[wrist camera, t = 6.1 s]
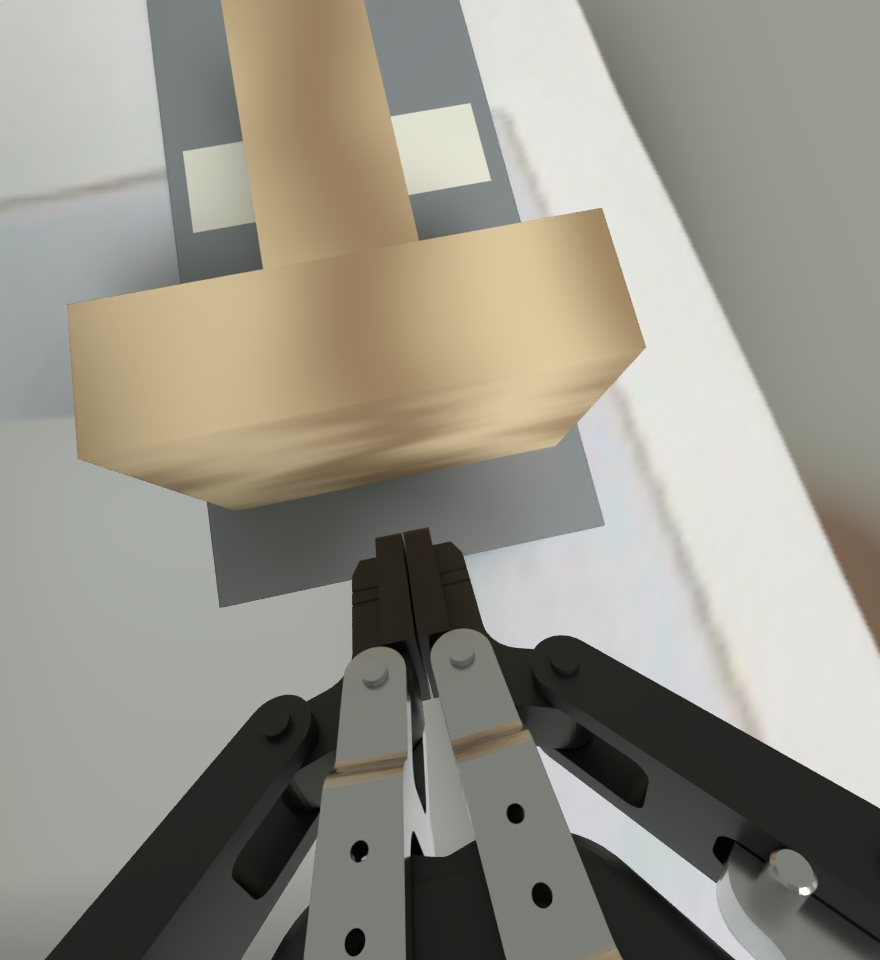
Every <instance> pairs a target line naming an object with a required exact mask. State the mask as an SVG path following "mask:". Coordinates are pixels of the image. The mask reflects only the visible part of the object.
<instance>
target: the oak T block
mask: <svg viewBox="0 0 880 960" xmlns="http://www.w3.org/2000/svg"><path fill="white" fill-rule="evenodd" d="M221 5H222V11H223V17H224V24H225V30H226V36H227V43H228V49H229V55H230V62H231V68H232V74H233V81H234V87H235V93H236V100H237V106H238V112H239V119H240V125H241V131H242V138H243V144H244V150H245V157H246V163H247V169H248V176H249V182H250V188H251V195H252V201H253V207H254V214H255V220H256V226H257V233H258V239H259V245H260V252H261V258H262V264H263V269H261V270H256V271H250V272H245V273H239V274H234V275H228V276H223V277H217V278H212V279H206V280H201V281H195V282H190V283H184V284H179V285H173V286H168V287H162V288H156V289H151V290H145V291H140V292H134V293H129V294H123V295H118V296H112V297H107V298H101V299H96V300H90V301H85V302H79V303H74V304H68V305H67V309H68V323H69V337H70V352H71V366H72V380H73V395H74V409H75V423H76V437H77V452H78V459H80V460H83V461H86V462H89V463H92V464H95V465H98V466H101V467H104V468H107V469H110V470H113V471H116V472H119V473H122V474H125V475H128V476H131V477H134V478H138V479H140V480H143V481H146V482H149V483H152V484H155V485H159V486H162V487H164V488H167V489H170V490H174V491H177V492H179V493H183V494H185V495H189V496H191V497H194V498H197V499H201V500H204V501H207V502H210V503H213V504H216V505H219V506H222V507H225V508H228V509H231V510H234V511H241V510H246V509H250V508H255V507H260V506H265V505H270V504H275V503H280V502H285V501H289V500H294V499H299V498H304V497H309V496H314V495H319V494H324V493H328V492H333V491H338V490H343V489H348V488H353V487H358V486H363V485H367V484H372V483H377V482H382V481H387V480H392V479H397V478H402V477H407V476H411V475H416V474H421V473H426V472H431V471H436V470H441V469H446V468H450V467H455V466H460V465H465V464H470V463H475V462H480V461H485V460H489V459H494V458H499V457H504V456H509V455H514V454H519V453H524V452H528V451H533V450H538V449H543V448H548V447H553V446H556V445H557V444H558V443H559V442H560V441H561V440H562V439H563V438H564V436H565V435H566V434H567V433H568V432H569V431H570V430H571V429H572V428H573V427H574V425H575V424H576V423H577V422H578V421H579V420H580V419H581V418H582V417H583V416H584V415H585V413H586V412H587V411H588V410H589V409H590V408H591V407H592V406H593V405H594V404H595V402H596V401H597V400H598V399H599V398H600V397H601V396H602V395H603V394H604V393H605V392H606V390H607V389H608V388H609V387H610V386H611V385H612V384H613V383H614V382H615V381H616V380H617V378H618V377H619V376H620V375H621V374H622V373H623V372H624V371H625V370H626V369H627V367H628V366H629V365H630V364H631V363H632V362H633V361H634V360H635V359H636V358H637V357H638V355H639V354H640V353H641V352H642V351H643V350H644V349H645V348H646V346H645V343H644V339H643V336H642V333H641V330H640V327H639V324H638V320H637V317H636V314H635V311H634V308H633V305H632V301H631V298H630V295H629V292H628V289H627V286H626V283H625V279H624V276H623V273H622V270H621V267H620V264H619V260H618V257H617V254H616V251H615V248H614V245H613V241H612V238H611V235H610V232H609V229H608V226H607V222H606V219H605V216H604V213H603V210H602V208H598V209H593V210H587V211H582V212H576V213H571V214H565V215H560V216H554V217H548V218H543V219H537V220H532V221H526V222H521V223H515V224H510V225H504V226H499V227H493V228H488V229H482V230H477V231H471V232H466V233H460V234H455V235H449V236H444V237H438V238H433V239H427V240H421V241H419V238H418V234H417V230H416V225H415V221H414V217H413V212H412V208H411V204H410V199H409V195H408V190H407V186H406V182H405V177H404V173H403V169H402V164H401V160H400V156H399V151H398V147H397V143H396V138H395V134H394V130H393V125H392V121H391V116H390V112H389V108H388V103H387V99H386V95H385V90H384V86H383V82H382V77H381V73H380V69H379V64H378V60H377V56H376V51H375V47H374V42H373V38H372V34H371V29H370V25H369V21H368V16H367V12H366V8H365V3H364V0H221Z"/></svg>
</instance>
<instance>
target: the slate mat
mask: <svg viewBox="0 0 880 960" xmlns="http://www.w3.org/2000/svg"><path fill="white" fill-rule="evenodd" d="M364 3H365V8H366V12H367V16H368V21H369V25H370V29H371V34H372V38H373V42H374V47H375V51H376V56H377V60H378V64H379V69H380V73H381V77H382V82H383V86H384V90H385V95H386V99H387V103H388V108H389V112H390V116H391V121H392V125H393V130H394V134H395V138H396V143H397V147H398V151H399V156H400V160H401V164H402V169H403V173H404V177H405V182H406V186H407V190H408V195H409V199H410V204H411V208H412V212H413V217H414V221H415V225H416V230H417V234H418V238H419V241H421V240H427V239H433V238H438V237H444V236H449V235H455V234H460V233H466V232H471V231H477V230H482V229H488V228H493V227H499V226H504V225H510V224H515V223H521V221H520V217H519V214H518V210H517V206H516V203H515V199H514V196H513V192H512V188H511V185H510V181H509V178H508V174H507V170H506V167H505V163H504V160H503V156H502V152H501V149H500V145H499V142H498V138H497V134H496V131H495V127H494V124H493V120H492V116H491V113H490V109H489V106H488V102H487V98H486V95H485V91H484V88H483V84H482V80H481V77H480V73H479V70H478V66H477V62H476V59H475V55H474V52H473V48H472V44H471V41H470V37H469V34H468V30H467V26H466V23H465V19H464V16H463V12H462V8H461V5H460V1H459V0H364ZM147 8H148V17H149V25H150V33H151V42H152V50H153V58H154V67H155V75H156V83H157V91H158V100H159V108H160V116H161V125H162V133H163V141H164V150H165V158H166V166H167V174H168V183H169V191H170V199H171V208H172V216H173V224H174V233H175V241H176V249H177V257H178V266H179V274H180V282H181V284H184V283H190V282H195V281H201V280H206V279H212V278H217V277H223V276H228V275H234V274H239V273H245V272H250V271H256V270H261V269H263V264H262V258H261V252H260V245H259V239H258V233H257V226H256V220H255V214H254V207H253V201H252V195H251V188H250V182H249V176H248V169H247V163H246V157H245V150H244V144H243V138H242V131H241V125H240V119H239V112H238V106H237V100H236V93H235V87H234V81H233V74H232V68H231V62H230V55H229V49H228V43H227V36H226V30H225V24H224V17H223V11H222V5H221V0H147ZM207 506H208V515H209V522H210V531H211V540H212V548H213V556H214V565H215V573H216V580H217V590H218V598H219V606H220V607H227V606H231V605H236V604H241V603H245V602H250V601H254V600H259V599H264V598H269V597H273V596H278V595H282V594H287V593H292V592H296V591H301V590H306V589H310V588H315V587H320V586H325V585H329V584H334V583H339V582H343V581H348V580H352V575H353V573H354V571H355V569H356V567H357V565H358V563H359V561H360V560H365V559H370V558H374V557H376V547H375V538H378V537H383V536H388V535H392V534H397V533H401V534H402V537H403V541H404V535H403V532H406V531H411V530H416V529H421V528H425V527H429V531H430V536H431V540H432V545H435V544H440V543H445V542H450V541H451V542H452V543H453V544H454V545H455V546H456V547H457V548H458V549H459V550H460V551H461V552H462V553H463V556H465V555H469V554H474V553H479V552H483V551H488V550H493V549H497V548H502V547H507V546H511V545H516V544H521V543H525V542H530V541H535V540H539V539H544V538H549V537H553V536H558V535H563V534H567V533H572V532H577V531H581V530H586V529H591V528H595V527H600V526H604V525H605V523H604V520H603V516H602V513H601V509H600V505H599V502H598V498H597V495H596V491H595V487H594V484H593V480H592V476H591V473H590V469H589V466H588V462H587V458H586V455H585V451H584V448H583V444H582V440H581V437H580V433H579V430H578V426H577V423H576V424H575V425H574V427H573V428H572V429H571V430H570V431H569V432H568V433H567V434H566V435H565V436H564V438H563V439H562V440H561V441H560V442H559V443H558V444H557V445H556V446H553V447H548V448H543V449H538V450H533V451H528V452H524V453H519V454H514V455H509V456H504V457H499V458H494V459H489V460H485V461H480V462H475V463H470V464H465V465H460V466H455V467H450V468H446V469H441V470H436V471H431V472H426V473H421V474H416V475H411V476H407V477H402V478H397V479H392V480H387V481H382V482H377V483H372V484H367V485H363V486H358V487H353V488H348V489H343V490H338V491H333V492H328V493H324V494H319V495H314V496H309V497H304V498H299V499H294V500H289V501H285V502H280V503H275V504H270V505H265V506H260V507H255V508H250V509H246V510H241V511H234V510H231V509H228V508H225V507H222V506H219V505H216V504H213V503H210V502H207ZM404 545H405V542H404Z"/></svg>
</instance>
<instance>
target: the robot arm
mask: <svg viewBox="0 0 880 960" xmlns="http://www.w3.org/2000/svg"><path fill="white" fill-rule="evenodd" d="M403 535H404V541H403V537H402V534H401V533H397V534H392V535H388V536H383V537H378V538H375V547H376V557H374V558H370V559H365V560H360V561H359V563H358V565H357V567H356V569H355V571H354V573H353V575H352V592H353V594H352V605H353V607H352V630H353V631H352V640H353V642H352V644H353V646H352V648H353V654H352V661H351V662H350V663H349V665H348V666H347V668H346V671H345V674H344V676H343V678H342V679H341V680H340V681H339V682H338V683H337V684H335V685H334V686H333V687H332V688H330V689H328V690H327V691H325V692H323V693H322V694H320V695H318V696H316V697H314V698H312V699H310V700H309V701H307V702H306V701H305V700H303V699H302V698H301V697H298V696H295V695H283V696H279V697H276V698H274V699H271V700H269V701H268V702H266V703H265V704H263V705H262V706H261V707H260V708H258V709H257V711H256V712H255V713H254V714H253V715H252V716H251V717H250V718H249V720H248V721H247V722H246V723H245V724H244V726H243V727H242V728H241V729H240V730H239V731H238V733H237V734H236V735H235V736H234V737H233V739H232V740H231V741H230V742H229V743H228V744H227V746H226V747H225V748H224V749H223V750H222V752H221V753H220V754H219V755H218V756H217V758H216V759H215V760H214V761H213V762H212V763H211V764H210V766H209V767H208V768H207V769H206V771H205V772H204V773H203V774H202V775H201V776H200V777H199V779H198V780H197V781H196V782H195V783H194V785H193V786H192V787H191V788H190V789H189V790H188V792H187V793H186V794H185V795H184V796H183V798H182V799H181V800H180V801H179V802H178V803H177V805H176V806H175V807H174V808H173V809H172V811H171V812H170V813H169V814H168V815H167V816H166V818H165V819H164V820H163V821H162V822H161V823H160V825H159V826H158V827H157V828H156V829H155V831H154V832H153V833H152V834H151V835H150V836H149V838H148V839H147V840H146V841H145V842H144V843H143V845H142V846H141V847H140V848H139V849H138V850H137V852H136V853H135V854H134V855H133V856H132V858H131V859H130V860H129V861H128V862H127V863H126V865H125V866H124V867H123V868H122V869H121V871H120V872H119V873H118V874H117V875H116V876H115V878H114V879H113V880H112V881H111V882H110V883H109V885H108V886H107V887H106V888H105V889H104V891H103V892H102V893H101V894H100V895H99V897H98V898H97V899H96V900H95V901H94V902H93V904H92V905H91V906H90V907H89V908H88V909H87V911H86V912H85V913H84V914H83V915H82V917H81V918H80V919H79V920H78V921H77V922H76V924H75V925H74V926H73V927H72V928H71V929H70V931H69V932H68V933H67V934H66V935H65V937H64V938H63V939H62V940H61V941H60V943H59V944H58V945H57V946H56V947H55V948H54V950H53V951H52V952H51V953H50V954H49V956H48V957H47V958H46V959H45V960H241V958H242V957H243V955H244V953H245V952H246V950H247V949H248V947H249V945H250V944H251V942H252V941H253V939H254V937H255V936H256V934H257V933H258V931H259V929H260V928H261V926H262V924H263V923H264V921H265V920H266V918H267V917H268V915H269V913H270V912H271V910H272V909H273V907H274V905H275V904H276V902H277V901H278V899H279V897H280V896H281V894H282V892H283V891H284V889H285V888H286V886H287V885H288V883H289V881H290V880H291V878H292V876H293V875H294V873H295V872H296V870H297V869H298V867H299V865H300V864H301V862H302V860H303V859H304V857H305V856H306V854H307V853H308V851H309V849H310V848H311V846H312V845H313V843H314V841H315V840H316V838H317V845H316V853H315V861H314V870H313V879H312V888H311V897H310V905H309V906H308V907H307V908H306V909H305V910H304V912H303V913H302V914H301V915H300V916H299V918H298V919H297V920H296V921H295V922H294V924H293V925H292V927H291V928H290V929H289V931H288V932H287V934H286V935H285V937H284V938H283V940H282V942H281V943H280V945H279V947H278V949H277V950H276V952H275V954H274V956H273V958H272V959H271V960H735V959H734V958H733V957H732V956H730V955H729V954H728V953H727V952H726V951H725V950H724V949H722V948H721V947H720V946H719V945H718V944H717V943H716V942H714V941H713V940H712V939H711V938H710V937H709V936H708V935H706V934H705V933H704V932H703V931H702V930H701V929H700V928H698V927H697V926H696V925H695V924H694V923H693V922H692V921H690V920H689V919H688V918H687V917H686V916H685V915H684V914H682V913H681V912H680V911H679V910H678V909H677V908H676V907H674V906H673V905H672V904H671V903H670V902H669V901H668V900H666V899H665V898H664V897H663V896H662V895H661V894H660V893H659V892H657V891H656V890H655V889H654V888H653V887H652V886H651V885H649V884H648V883H647V882H646V881H645V880H644V879H643V878H641V877H640V876H639V875H638V874H637V873H636V872H635V871H633V870H632V869H631V868H630V867H629V866H628V865H627V864H625V863H624V862H623V861H622V860H621V859H619V858H618V857H617V856H616V855H614V854H613V853H611V852H610V851H609V850H607V849H606V848H604V847H603V846H601V845H599V844H597V843H595V842H593V841H591V840H589V839H587V838H584V837H582V836H579V835H576V834H572V833H570V830H569V828H568V825H567V823H566V820H565V818H564V815H563V813H562V810H561V808H560V805H559V803H558V800H557V798H556V795H555V793H554V790H553V788H552V785H551V783H550V780H549V778H548V775H547V773H546V770H545V768H544V765H543V763H542V760H541V758H540V755H539V753H538V750H537V747H536V746H540V748H541V749H542V750H543V751H544V752H545V753H546V754H547V755H548V756H549V757H551V758H552V759H553V760H555V761H556V762H557V763H559V764H560V765H561V766H563V767H564V768H565V769H567V770H568V771H569V772H571V773H572V774H573V775H574V776H576V777H577V778H578V779H580V780H581V781H582V782H584V783H585V784H586V785H588V786H589V787H590V788H592V789H593V790H594V791H596V792H597V793H598V794H599V795H601V796H602V797H603V798H605V799H606V800H607V801H609V802H610V803H611V804H613V805H614V806H615V807H617V808H618V809H619V810H621V811H622V812H623V813H625V814H626V815H627V816H628V817H630V818H631V819H632V820H634V821H635V822H636V823H638V824H639V825H640V826H642V827H643V828H644V829H646V830H647V831H648V832H650V833H651V834H652V835H653V836H655V837H656V838H657V839H659V840H660V841H661V842H663V843H664V844H665V845H667V846H668V847H669V848H671V849H672V850H673V851H675V852H676V853H677V854H679V855H680V856H681V857H682V858H684V859H685V860H686V861H688V862H689V863H690V864H692V865H693V866H694V867H696V868H697V869H698V870H700V871H701V872H702V873H704V874H705V875H706V876H708V877H709V878H710V879H711V880H713V881H714V882H715V883H717V889H716V893H717V901H718V906H719V909H720V912H721V915H722V917H723V919H724V921H725V923H726V925H727V927H728V929H729V930H730V932H731V933H732V935H733V936H734V937H735V938H736V940H737V941H738V942H739V943H740V944H741V945H742V946H743V947H744V948H745V949H746V950H747V951H748V952H749V953H750V954H751V955H752V956H753V957H754V958H755V959H756V960H880V808H878V807H876V806H875V805H873V804H871V803H869V802H868V801H866V800H864V799H862V798H860V797H859V796H857V795H855V794H853V793H852V792H850V791H848V790H846V789H844V788H843V787H841V786H839V785H837V784H836V783H834V782H832V781H830V780H828V779H827V778H825V777H823V776H821V775H820V774H818V773H816V772H814V771H812V770H811V769H809V768H807V767H805V766H803V765H802V764H800V763H798V762H796V761H795V760H793V759H791V758H789V757H787V756H786V755H784V754H782V753H780V752H779V751H777V750H775V749H773V748H771V747H770V746H768V745H766V744H764V743H763V742H761V741H759V740H757V739H755V738H754V737H752V736H750V735H748V734H747V733H745V732H743V731H741V730H739V729H738V728H736V727H734V726H732V725H731V724H729V723H727V722H725V721H723V720H722V719H720V718H718V717H716V716H715V715H713V714H711V713H709V712H707V711H706V710H704V709H702V708H700V707H699V706H697V705H695V704H693V703H691V702H690V701H688V700H686V699H684V698H682V697H681V696H679V695H677V694H675V693H674V692H672V691H670V690H668V689H666V688H665V687H663V686H661V685H659V684H658V683H656V682H654V681H652V680H650V679H649V678H647V677H645V676H643V675H642V674H640V673H638V672H636V671H634V670H633V669H631V668H629V667H627V666H626V665H624V664H622V663H620V662H618V661H617V660H615V659H613V658H611V657H610V656H608V655H606V654H604V653H602V652H601V651H599V650H597V649H595V648H594V647H592V646H590V645H588V644H586V643H585V642H583V641H581V640H579V639H577V638H574V637H571V636H562V635H559V636H552V637H549V638H547V639H544V640H543V641H541V642H540V643H539V644H538V645H537V646H536V647H535V649H523V648H513V647H508V646H505V645H503V644H500V643H498V642H497V641H495V640H494V639H493V638H491V637H490V636H489V634H488V633H487V632H486V630H485V629H484V626H483V623H482V620H481V616H480V613H479V609H478V606H477V602H476V599H475V595H474V592H473V588H472V585H471V582H470V578H469V574H468V571H467V568H466V564H465V560H464V557H463V553H462V552H461V551H460V550H459V549H458V548H457V547H456V546H455V545H454V544H453V543H452V542H451V541H450V542H445V543H440V544H435V545H432V540H431V536H430V531H429V527H425V528H421V529H416V530H411V531H406V532H403ZM404 542H405V545H404ZM427 674H428V675H427ZM428 678H429V681H430V685H431V689H432V693H433V697H434V698H437V697H440V701H441V705H442V709H443V714H444V717H445V722H446V726H447V730H448V734H449V738H450V741H451V746H452V750H453V754H454V757H455V762H456V766H457V770H458V774H459V778H460V781H461V786H462V789H463V793H464V798H465V801H466V805H467V809H468V814H469V817H470V821H471V825H472V830H473V834H474V838H475V841H473V842H471V843H469V844H468V845H466V846H464V847H463V848H461V849H459V850H458V851H456V852H454V853H453V854H451V855H449V856H446V857H435V849H434V841H433V835H432V829H431V821H430V807H429V789H428V773H427V753H426V735H425V729H424V726H425V722H424V713H423V705H422V701H424V700H428V699H431V695H430V689H429V682H428Z"/></svg>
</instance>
